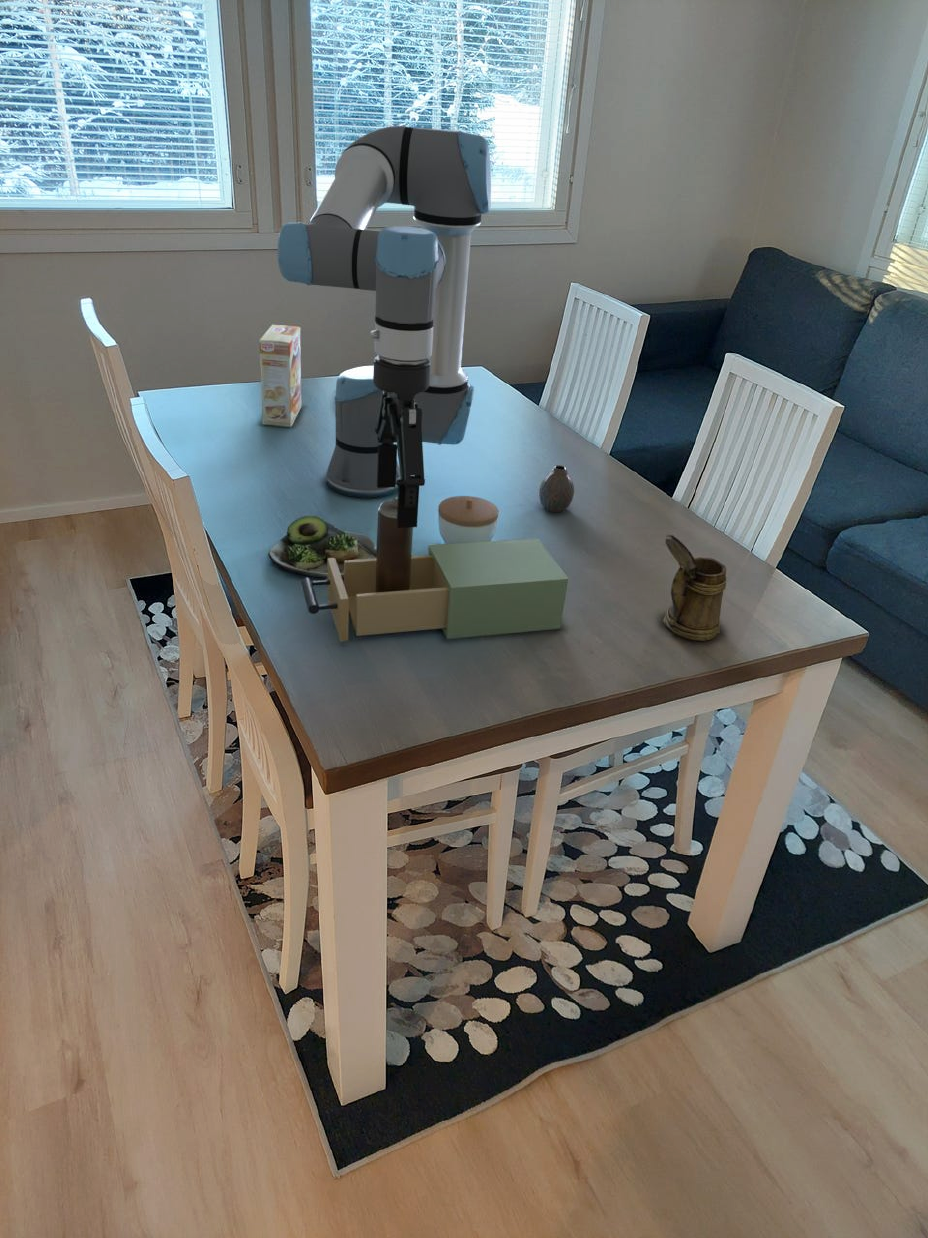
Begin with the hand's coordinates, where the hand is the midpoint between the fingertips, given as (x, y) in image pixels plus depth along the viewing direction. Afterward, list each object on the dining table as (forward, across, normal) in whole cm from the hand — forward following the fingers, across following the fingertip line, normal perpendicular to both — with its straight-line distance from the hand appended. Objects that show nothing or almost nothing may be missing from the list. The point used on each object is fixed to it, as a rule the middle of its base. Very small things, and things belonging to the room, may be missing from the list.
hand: (396, 505), depth 124 cm
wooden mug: (+20, +10, +46) cm, 51 cm away
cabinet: (+20, 0, +17) cm, 26 cm away
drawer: (+19, 0, -2) cm, 19 cm away
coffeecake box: (+19, -93, -6) cm, 95 cm away
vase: (+19, -36, +42) cm, 59 cm away
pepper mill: (+18, 0, 0) cm, 18 cm away
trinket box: (+20, -22, +19) cm, 35 cm away
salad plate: (+20, -22, -7) cm, 31 cm away
